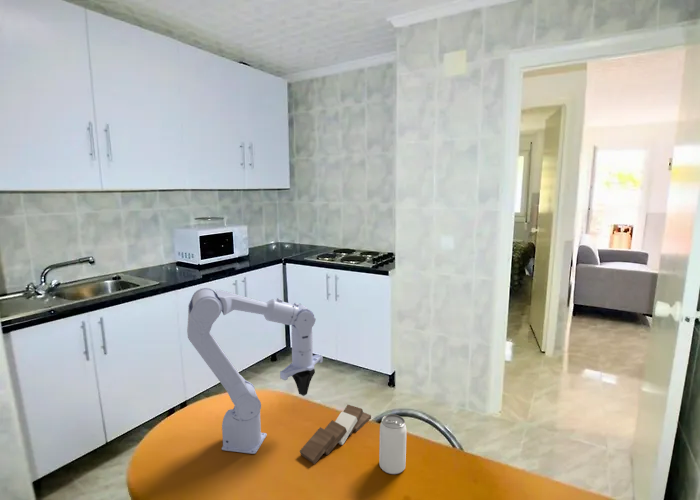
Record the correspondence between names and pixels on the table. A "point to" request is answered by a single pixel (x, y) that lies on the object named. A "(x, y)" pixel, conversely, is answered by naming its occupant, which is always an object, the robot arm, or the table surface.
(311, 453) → the domino
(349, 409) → the domino
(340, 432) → the domino
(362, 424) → the domino
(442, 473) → the table surface
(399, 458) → the can
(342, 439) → the domino
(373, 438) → the table surface
